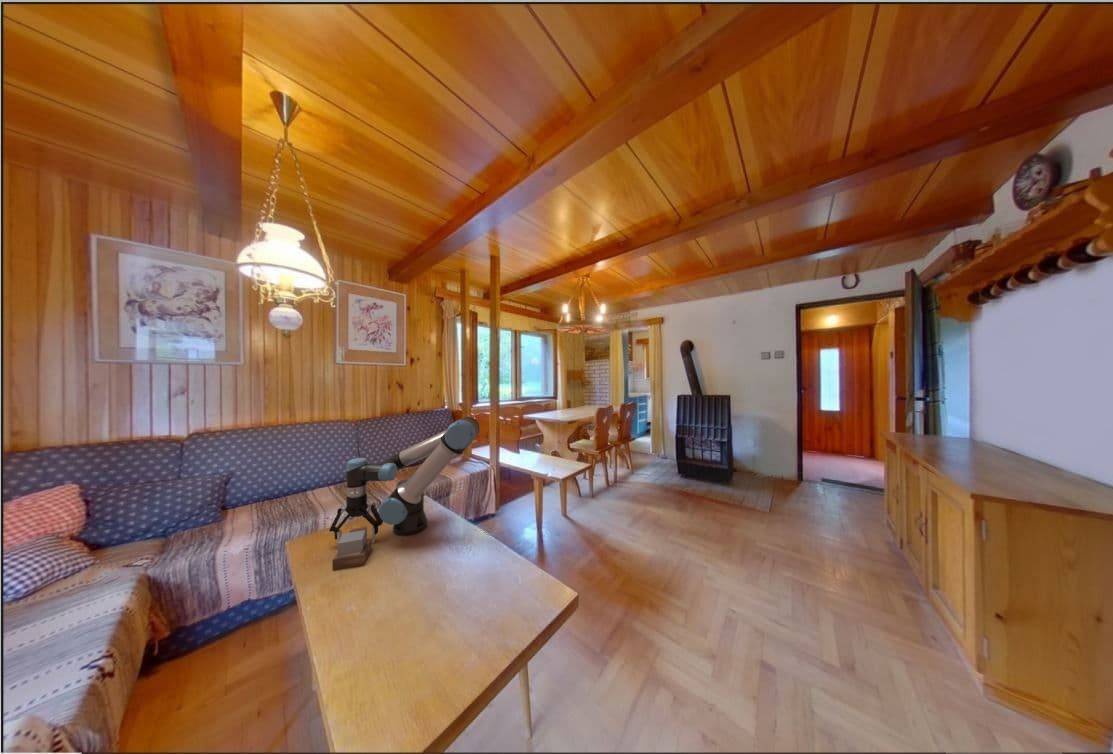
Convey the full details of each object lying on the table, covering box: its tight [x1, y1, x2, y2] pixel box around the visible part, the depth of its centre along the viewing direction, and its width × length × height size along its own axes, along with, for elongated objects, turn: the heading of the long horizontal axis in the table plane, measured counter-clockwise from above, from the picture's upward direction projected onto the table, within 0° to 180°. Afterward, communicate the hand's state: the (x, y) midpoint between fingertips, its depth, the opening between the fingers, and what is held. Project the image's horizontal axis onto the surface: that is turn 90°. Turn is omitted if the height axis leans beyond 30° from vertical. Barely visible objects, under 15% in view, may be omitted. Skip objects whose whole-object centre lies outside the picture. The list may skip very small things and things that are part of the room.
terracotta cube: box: [348, 526, 368, 540], centre depth 134 cm, size 6×6×6 cm
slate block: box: [337, 530, 366, 557], centre depth 123 cm, size 8×8×5 cm
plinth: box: [332, 539, 372, 571], centre depth 123 cm, size 12×10×4 cm
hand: (356, 543), depth 134 cm, fingers open, 12 cm apart
